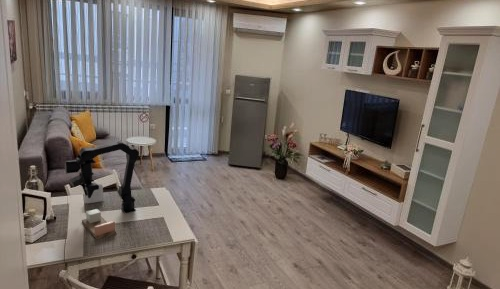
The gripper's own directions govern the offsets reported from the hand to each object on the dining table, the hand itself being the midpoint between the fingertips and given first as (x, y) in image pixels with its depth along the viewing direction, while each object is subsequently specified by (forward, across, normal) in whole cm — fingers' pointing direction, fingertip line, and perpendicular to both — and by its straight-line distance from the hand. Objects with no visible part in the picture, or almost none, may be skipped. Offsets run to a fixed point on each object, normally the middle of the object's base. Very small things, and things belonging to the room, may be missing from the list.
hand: (87, 196), depth 194 cm
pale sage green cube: (+11, +8, 0) cm, 13 cm away
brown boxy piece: (+13, +14, 0) cm, 19 cm away
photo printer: (+13, -18, +10) cm, 25 cm away
